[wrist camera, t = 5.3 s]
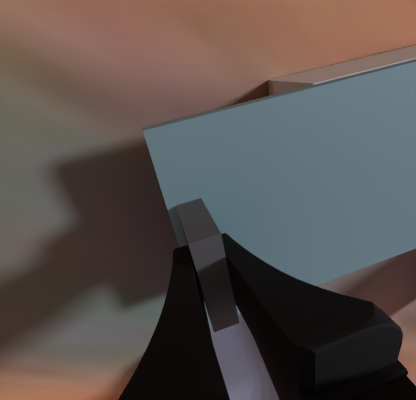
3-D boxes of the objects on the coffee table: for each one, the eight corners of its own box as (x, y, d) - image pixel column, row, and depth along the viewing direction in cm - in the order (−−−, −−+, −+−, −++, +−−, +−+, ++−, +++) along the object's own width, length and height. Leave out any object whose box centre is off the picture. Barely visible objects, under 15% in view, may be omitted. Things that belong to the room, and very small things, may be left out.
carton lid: (201, 319, 16) (218, 378, 13) (142, 127, 11) (147, 152, 7) (440, 231, 19) (502, 263, 16) (497, 38, 13) (613, 28, 10)
